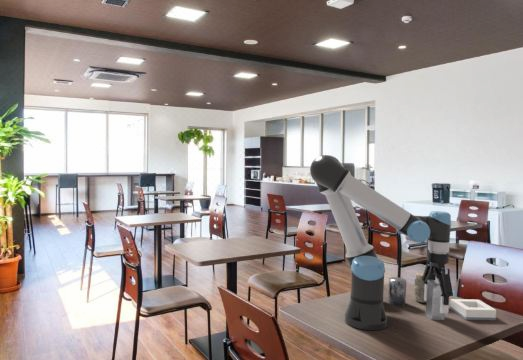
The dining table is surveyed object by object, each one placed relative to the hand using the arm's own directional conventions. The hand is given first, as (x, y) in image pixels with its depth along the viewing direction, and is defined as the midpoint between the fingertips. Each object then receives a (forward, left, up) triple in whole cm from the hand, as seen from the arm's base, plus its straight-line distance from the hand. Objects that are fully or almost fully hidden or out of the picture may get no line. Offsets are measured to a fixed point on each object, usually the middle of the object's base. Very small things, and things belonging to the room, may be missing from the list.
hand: (435, 306), depth 161 cm
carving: (+3, +18, -4) cm, 19 cm away
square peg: (0, 0, -4) cm, 4 cm away
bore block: (+17, +4, -4) cm, 18 cm away
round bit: (-9, +16, -4) cm, 19 cm away
